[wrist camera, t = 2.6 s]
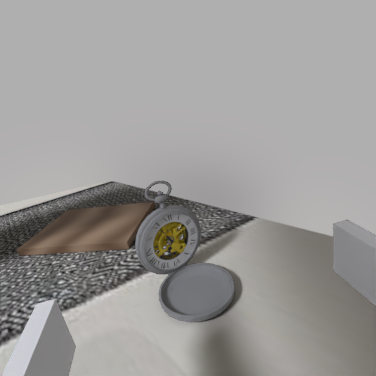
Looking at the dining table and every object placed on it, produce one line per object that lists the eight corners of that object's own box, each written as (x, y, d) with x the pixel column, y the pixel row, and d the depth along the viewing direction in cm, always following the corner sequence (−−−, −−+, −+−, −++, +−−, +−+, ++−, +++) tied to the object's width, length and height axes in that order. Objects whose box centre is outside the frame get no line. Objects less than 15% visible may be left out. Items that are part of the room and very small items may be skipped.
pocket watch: (222, 335, 19) (201, 212, 16) (129, 312, 23) (96, 208, 19) (246, 265, 26) (236, 169, 23) (172, 256, 30) (153, 172, 26)
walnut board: (19, 255, 36) (16, 249, 36) (69, 215, 47) (67, 209, 47) (128, 248, 33) (126, 242, 32) (154, 207, 44) (153, 201, 43)
